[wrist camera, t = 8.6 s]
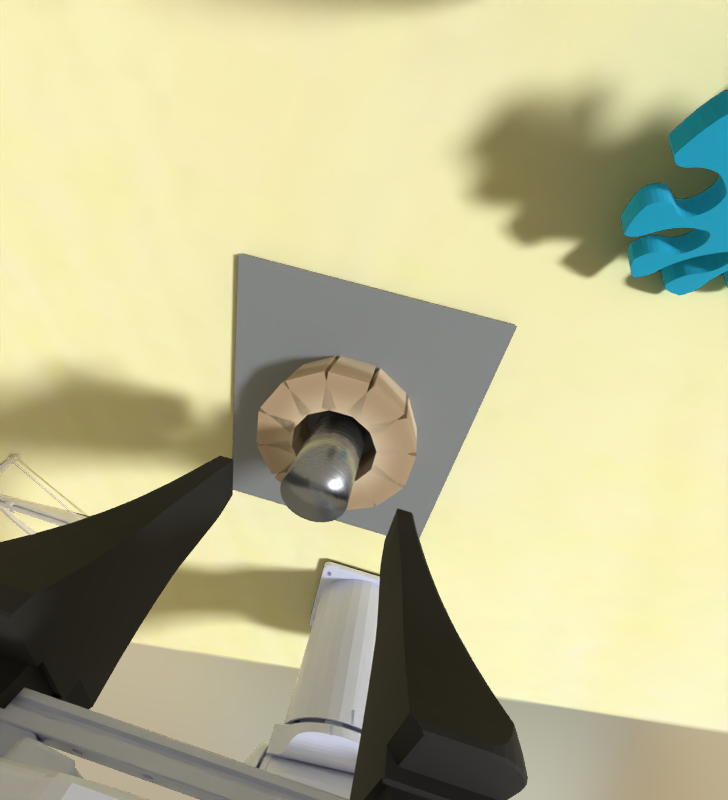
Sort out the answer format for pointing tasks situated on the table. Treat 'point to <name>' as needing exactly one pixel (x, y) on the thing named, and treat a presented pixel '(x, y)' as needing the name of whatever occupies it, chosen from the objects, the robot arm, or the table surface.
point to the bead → (351, 395)
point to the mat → (367, 342)
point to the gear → (686, 208)
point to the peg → (325, 468)
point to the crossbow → (34, 506)
